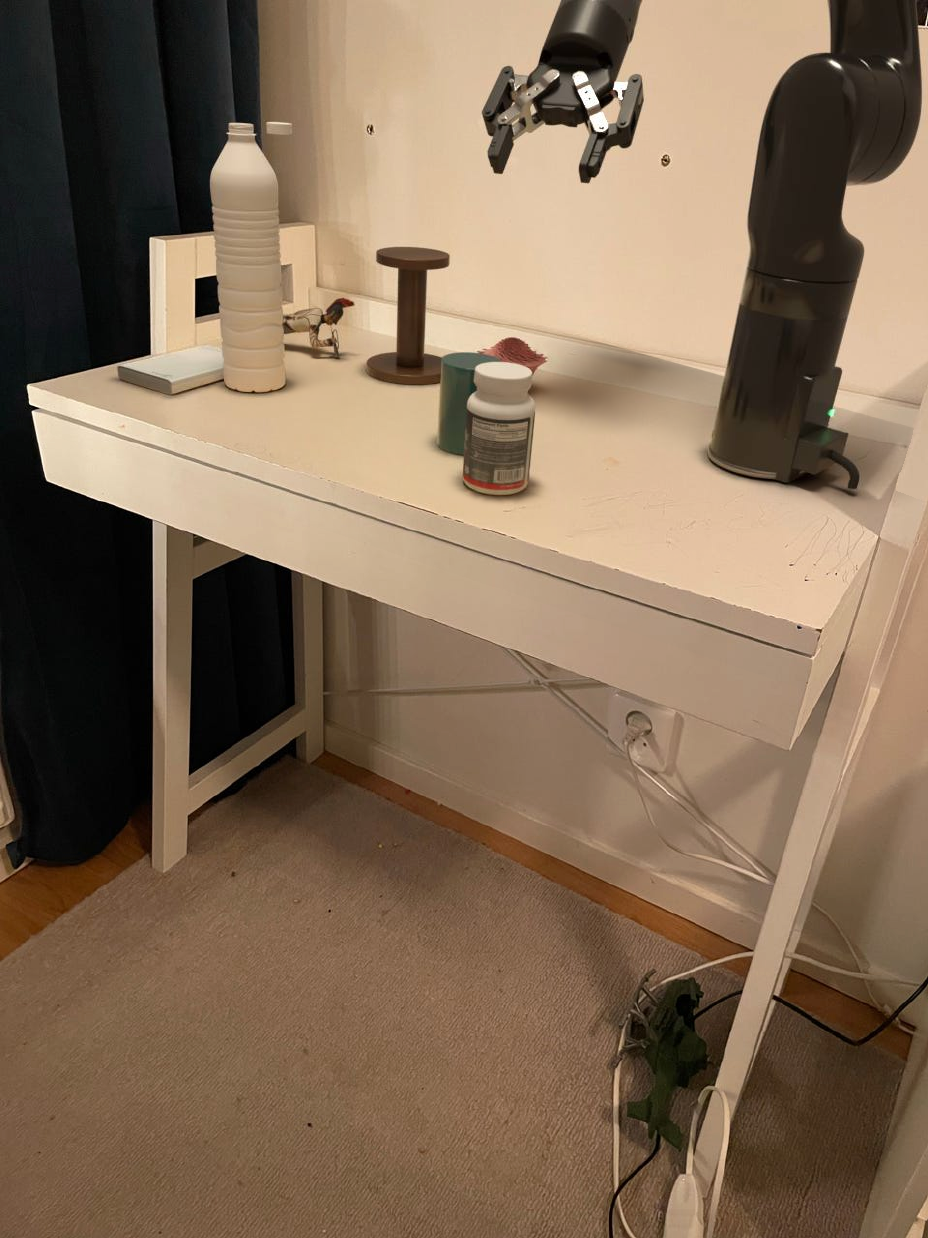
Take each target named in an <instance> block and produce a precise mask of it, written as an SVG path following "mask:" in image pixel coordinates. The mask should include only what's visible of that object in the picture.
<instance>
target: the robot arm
mask: <svg viewBox="0 0 928 1238" xmlns="http://www.w3.org/2000/svg"><path fill="white" fill-rule="evenodd" d="M826 1H827V8H828V19H829V52H815V53H812V54H808V55H805V56H803V57H802V58H800V59H798V60H797V61H795V62H793V63H792V64H791V65H790V66H789V67H788V68H787V69H786V70H785V72H783V74H782V75H781V77H780V78H779V80H778V81H777V83H776V85H775V87H774V88H773V90H772V93H771V95H770V97H769V99H768V102H767V105H766V107H765V111H764V115H763V117H762V122H761V126H760V131H759V136H758V141H757V149H756V155H755V161H754V169H753V175H752V182H751V188H750V196H749V202H748V209H747V216H746V217H747V218H746V229H747V237H748V243H749V253H748V258H747V264H746V269H745V274H744V278H743V284H742V288H741V293H740V298H739V302H738V307H737V313H736V317H735V321H734V328H733V332H732V336H731V342H730V347H729V351H728V357H727V361H726V365H725V366H726V367H725V370H724V371H725V372H724V377H723V381H722V386H721V391H720V396H719V401H718V405H717V411H716V416H715V422H714V425H713V426H714V427H713V430H712V433H711V441H710V444H709V445H708V449H707V456H708V458H709V459H710V460H711V461H712V462H713V463H714V464H716V465H717V466H719V467H721V468H723V469H725V470H728V471H730V472H733V473H736V474H740V475H743V476H748V477H753V478H758V479H767V480H776V481H779V482H782V483H785V484H787V483H790V482H792V481H794V480H796V479H798V478H800V477H803V476H805V475H806V474H808V473H809V474H810V475H817V474H818V473H821V472H823V471H824V470H826V469H829V468H831V467H832V466H835V465H837V464H838V465H839V466H840V467H842V468H843V469H845V471H847V473H848V475H849V480H848V482H847V489H849V490H857V489H858V485H859V483H860V471H859V470H858V467H857V466H856V465H855V463H854V462H853V461H852V460H850V459H849V458H848V457H846V456H844V451H845V448H846V445H847V440H848V438H849V433H848V432H845V431H842V430H838V429H835V428H831V427H829V424H830V420H831V417H833V416H834V414H835V409H833V408H834V404H835V402H836V397H837V394H838V390H839V387H840V382H841V379H842V375H843V369H842V368H841V367H840V366H836V364H837V360H838V358H839V357H838V356H839V353H840V350H841V345H842V341H843V337H844V334H845V329H846V326H847V322H848V318H849V315H850V310H851V307H852V303H853V298H854V295H855V291H856V288H857V284H858V279H859V277H860V274H861V269H862V266H863V261H864V258H865V246H864V244H863V242H862V241H861V240H860V239H859V238H858V237H856V236H855V235H853V234H851V233H850V232H849V231H848V229H847V227H846V226H845V225H844V220H843V209H844V208H843V207H844V202H845V196H846V190H847V187H853V186H854V187H855V186H856V187H857V186H867V185H873V184H877V183H880V182H881V181H884V180H885V179H887V178H889V176H892V174H894V173H895V172H896V171H897V170H898V168H900V166H901V165H902V164H903V163H904V161H905V159H906V158H907V157H908V156H909V153H910V151H911V149H912V148H913V145H914V142H915V140H916V137H917V134H918V130H919V126H920V122H921V116H922V104H923V103H922V102H923V81H922V80H923V77H922V64H921V47H920V35H919V21H918V6H917V5H918V3H917V0H826ZM642 2H643V0H560V2H559V4H558V6H557V7H558V8H557V10H556V13H555V15H554V18H553V19H552V23H551V25H550V27H549V30H548V33H547V36H546V38H545V41H544V43H543V46H542V48H541V51H540V55H539V59H538V62H537V66H536V67H535V68H534V69H533V70H532V71H531V72H530V73H529V74H528V75H525V74H524V75H523V74H516V73H515V71H514V67H513V66H511V65H506V66H503V67H502V68H501V70H500V72H499V74H498V76H497V78H496V80H495V82H494V85H493V86H492V89H491V91H490V93H489V96H488V98H487V100H486V101H485V104H484V106H483V108H482V110H481V115H482V119H483V121H484V126H485V129H486V133H487V136H489V137H492V139H491V141H490V144H489V146H488V149H487V150H486V151H487V158H488V161H489V165H490V167H491V168H492V171H493V174H495V175H503V173H504V171H505V170H506V166H507V164H508V161H509V158H510V156H511V153H512V151H513V148H514V145H515V143H514V142H515V141H516V140H518V139H519V138H520V137H521V136H523V135H524V134H525V133H528V134H532V133H533V132H534V131H536V130H538V128H540V127H541V126H543V125H545V126H551V127H552V126H561V125H562V126H565V127H569V128H578V125H579V126H580V125H582V124H584V126H585V128H586V130H587V133H588V135H589V136H588V139H587V141H586V145H585V147H584V150H583V152H582V155H581V157H580V160H579V164H578V175H579V181H580V183H581V184H590V183H591V180H592V178H593V179H595V178H597V176H598V175H599V174H600V171H601V169H602V166H603V163H604V161H605V157H606V154H607V152H609V151H610V150H611V148H613V147H617V146H619V148H620V149H628V148H630V147H631V146H632V144H633V141H634V137H635V133H636V130H637V127H638V124H639V119H640V116H641V112H642V108H643V106H644V102H645V97H644V84H643V76H642V74H640V73H633V74H632V75H630V76H629V78H628V80H627V81H617V79H618V77H619V74H620V71H621V68H622V65H623V63H624V60H625V57H626V54H627V52H628V49H629V46H630V45H631V43H632V41H633V38H634V35H635V29H636V26H637V23H638V19H639V13H640V9H641V5H642ZM614 99H617V100H618V105H619V112H618V115H617V119H616V122H614V123H608V121H607V118H606V117H605V115H604V112H603V109H605V108H606V107H607V106H609V105H610V104H612V102H613V101H614ZM513 103H514V104H513ZM532 106H533V107H534V109H535V112H534V113H532V111H531V107H532ZM514 122H515V123H514Z"/></svg>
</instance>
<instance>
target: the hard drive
mask: <svg viewBox="0 0 928 1238" xmlns="http://www.w3.org/2000/svg"><path fill="white" fill-rule="evenodd" d="M223 361H224V358H223V355H222V347H218V346H213V345H210V344H203V345H199V346H195V347H191V348H187V349H182V350H178V351H173V352H169V353H165V354H161V355H158V356H157V355H156V356H153V357H149V358H145V359H141V360H137V361H132V362H128V363H124V364H120V365H117V367H116V369H117V377H118V379H120V380H122V381H125V382H128V383H130V384H134V385H137V386H141V387H144V388H148V389H149V390H153V391H157V392H160V393H163V394H167V395H175V394H177V393H180V392H184V391H188V390H191V389H194V388H197V387H201V386H204V385H208V384H211V383H214V382H217V381H221V380H224V371H223Z"/></svg>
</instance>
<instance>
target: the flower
mask: <svg viewBox="0 0 928 1238" xmlns="http://www.w3.org/2000/svg"><path fill="white" fill-rule="evenodd" d="M476 353H481V354H487V355H491V356H494V357H497V358H499V359H500V360H502V362H508V363H515V364H519V365H522V366H525V367H527V368H529V369H530V370H531V371H532V377H534V374H535V372H536V371H537V369H538V368H539V367H540V366H542V365H544V364H545V363H547V362H548V360H547V359H548V356H545V354H544V353H537V350H532V347H531V346H529V343H526V341H524V340H523V339H521V338H518V337H514V336H511V337H505V338H502V339H501V340H499V341H498V342H496V343H495V345H493V346H490V348H482V350H477V351H476Z"/></svg>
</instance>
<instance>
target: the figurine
mask: <svg viewBox="0 0 928 1238" xmlns="http://www.w3.org/2000/svg"><path fill="white" fill-rule="evenodd" d="M350 307H355V302H354V301H352V300H350V299H348V298H345V297H340V298H336V299H335V300H334V301H333V302H331V304H330V305H329V306H328V307H327V308H326V310H325V313H324V314H323V309H322V308H320V307H313V308H305V309H300V310H297V311H295V312H294V313H285V314H283V323H282V326H283V329H284V335H289V334H295V333H297V334H299V333H308V334H309V343H310V346H311V348H326V347H328V348H329V347H330V348H332V347H333V353H334V358H335V359H336V358H337V359H338V358H340V357H341V355H340V352H339V350H340V349H339V348H340V342H339V334H338V331H337V329H333V328H330V331H331V337H330V338H326V339H319V334H320V327H321V326H322V325H323V324H326V325H327V326H329V327H332V326H333V324H334V325H335V326H337V325H338V322H339V321H340V320H341V319H342V317H343V316H344V309H345V308H346V309H347V308H350ZM335 332H336V337H335V335H334V334H335Z"/></svg>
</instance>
